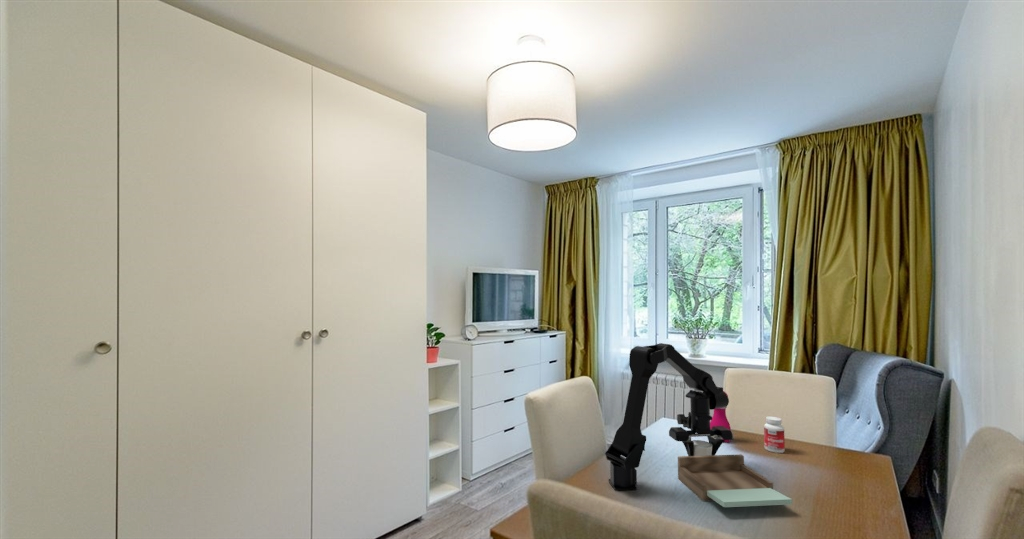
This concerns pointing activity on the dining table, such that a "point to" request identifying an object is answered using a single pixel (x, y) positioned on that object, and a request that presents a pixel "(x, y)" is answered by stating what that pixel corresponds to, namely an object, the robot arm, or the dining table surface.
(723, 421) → the pepper mill
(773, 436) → the pill bottle
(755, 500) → the tailgate
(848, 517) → the dining table surface
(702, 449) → the shot glass
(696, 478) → the tray
